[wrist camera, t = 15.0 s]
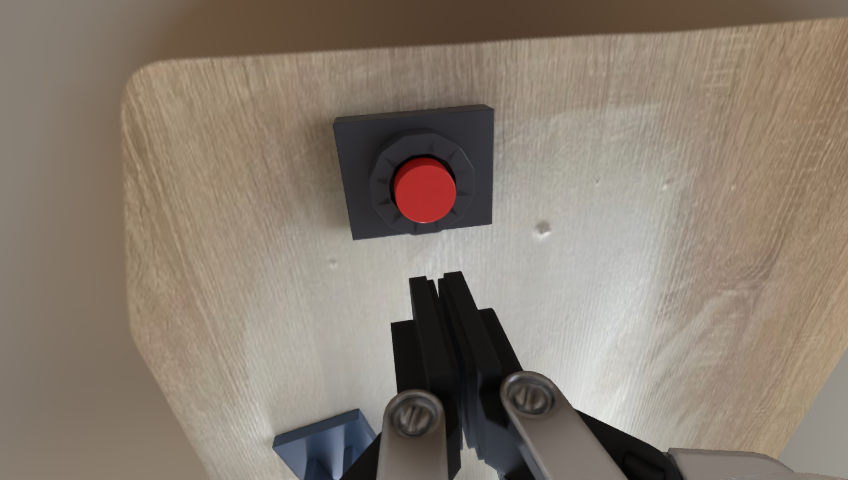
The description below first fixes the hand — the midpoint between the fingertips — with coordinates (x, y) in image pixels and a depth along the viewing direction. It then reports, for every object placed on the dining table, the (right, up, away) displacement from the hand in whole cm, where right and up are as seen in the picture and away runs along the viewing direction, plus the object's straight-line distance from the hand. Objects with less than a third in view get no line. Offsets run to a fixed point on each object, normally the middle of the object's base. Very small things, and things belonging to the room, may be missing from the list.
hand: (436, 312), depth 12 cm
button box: (-1, +7, +15) cm, 16 cm away
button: (-1, +6, +11) cm, 13 cm away
